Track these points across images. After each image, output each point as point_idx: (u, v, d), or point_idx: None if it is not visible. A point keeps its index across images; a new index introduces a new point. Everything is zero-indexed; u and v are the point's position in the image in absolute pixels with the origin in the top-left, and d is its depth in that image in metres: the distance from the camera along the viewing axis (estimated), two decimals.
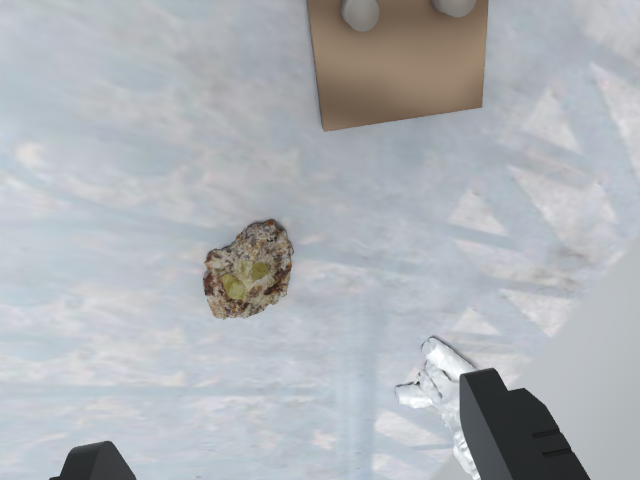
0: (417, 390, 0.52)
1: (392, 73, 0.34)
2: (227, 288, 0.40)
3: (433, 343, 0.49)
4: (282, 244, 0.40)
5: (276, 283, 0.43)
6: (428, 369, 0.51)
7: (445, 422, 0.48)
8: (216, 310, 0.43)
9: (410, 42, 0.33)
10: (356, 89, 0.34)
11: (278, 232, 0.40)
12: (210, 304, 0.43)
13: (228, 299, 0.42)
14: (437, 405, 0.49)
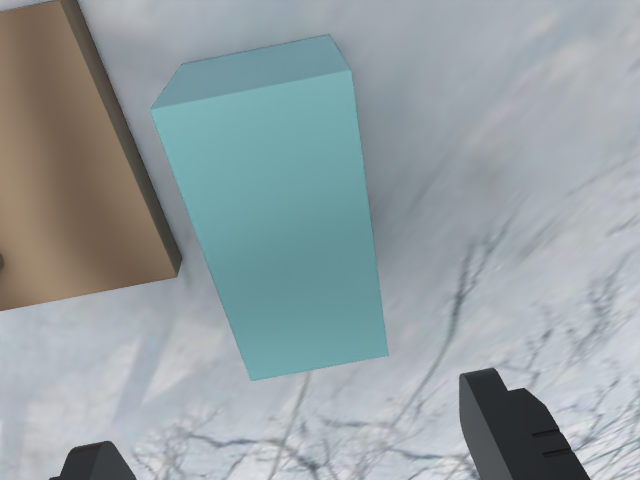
0: None
1: None
2: None
3: None
4: None
5: None
6: None
7: None
8: None
9: None
10: None
11: None
12: None
13: None
14: None
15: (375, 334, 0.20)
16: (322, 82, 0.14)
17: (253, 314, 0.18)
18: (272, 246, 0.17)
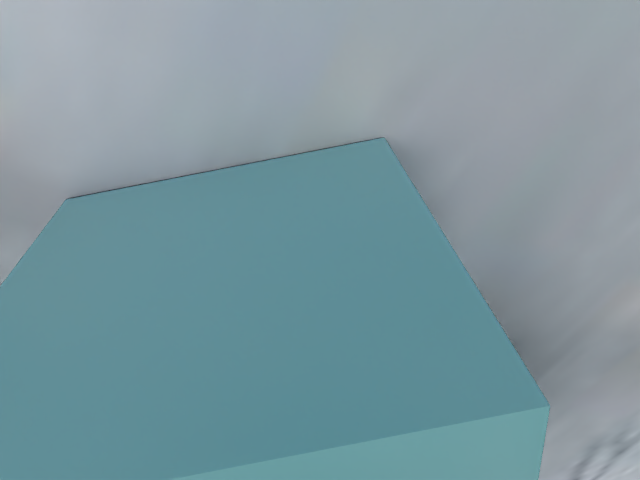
0: None
1: None
2: None
3: None
4: None
5: None
6: None
7: None
8: None
9: None
10: None
11: None
12: None
13: None
14: None
15: None
16: (440, 440, 0.04)
17: None
18: None
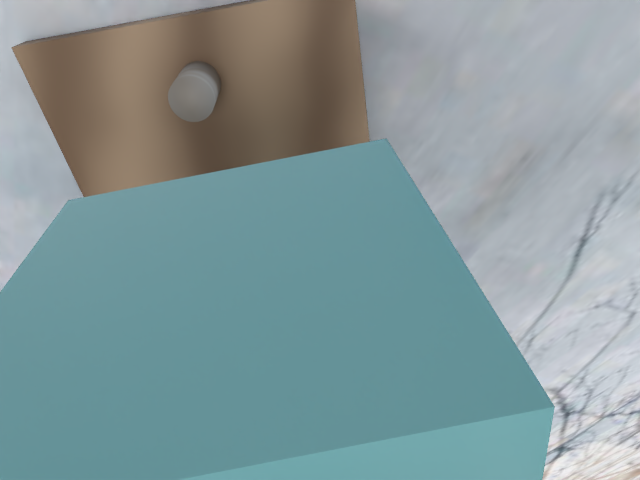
0: None
1: (127, 142, 0.25)
2: None
3: None
4: None
5: None
6: None
7: None
8: None
9: (171, 159, 0.25)
10: (93, 94, 0.23)
11: None
12: None
13: None
14: None
15: None
16: (444, 441, 0.04)
17: None
18: None
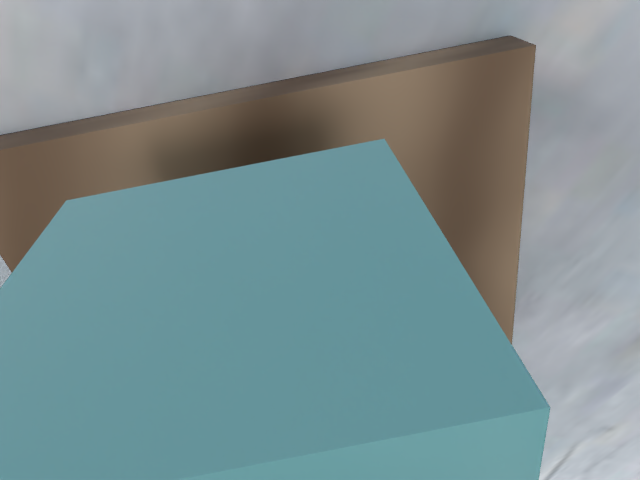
0: None
1: None
2: None
3: None
4: None
5: None
6: None
7: None
8: None
9: None
10: None
11: None
12: None
13: None
14: None
15: None
16: (440, 441, 0.04)
17: None
18: None
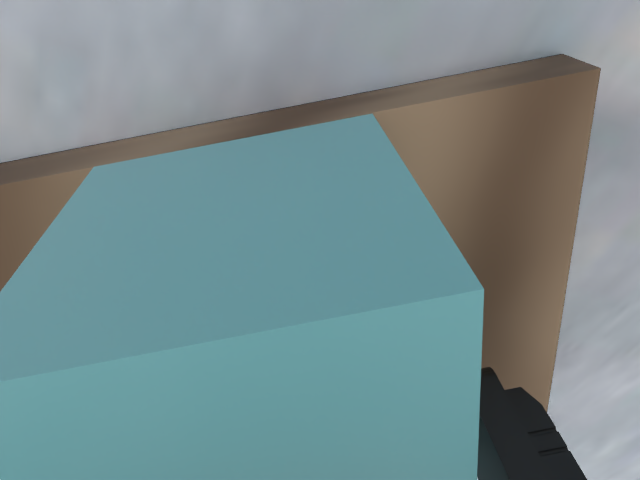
0: None
1: None
2: None
3: None
4: None
5: None
6: None
7: None
8: None
9: None
10: None
11: None
12: None
13: None
14: None
15: None
16: (402, 317, 0.05)
17: None
18: None
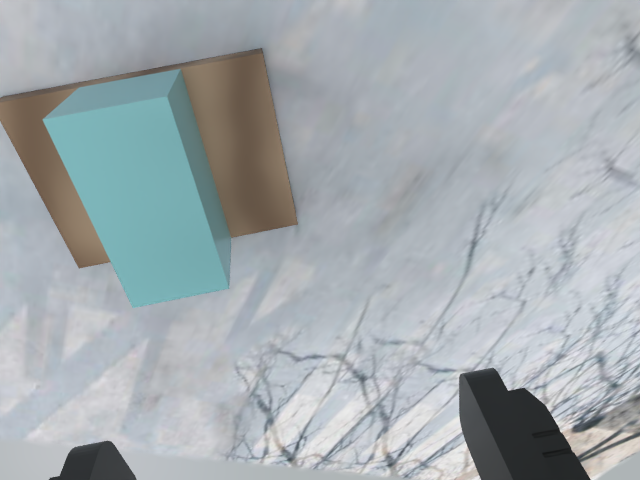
0: None
1: None
2: None
3: None
4: None
5: None
6: None
7: None
8: None
9: None
10: None
11: None
12: None
13: None
14: None
15: (216, 272, 0.29)
16: (150, 103, 0.23)
17: (127, 256, 0.27)
18: (134, 208, 0.26)
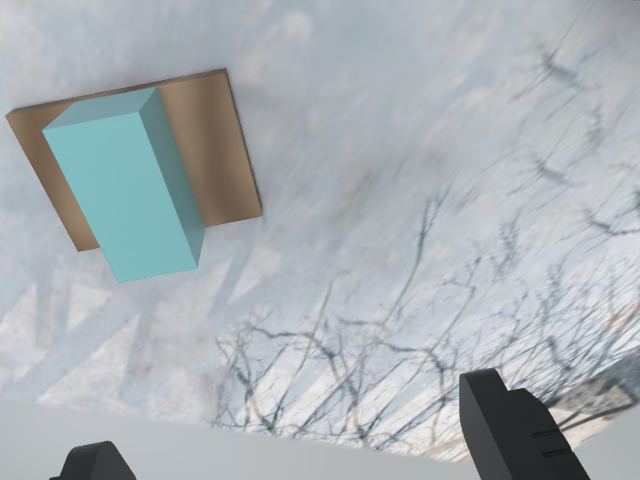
0: None
1: None
2: None
3: None
4: None
5: None
6: None
7: None
8: None
9: None
10: None
11: None
12: None
13: None
14: None
15: (186, 254, 0.35)
16: (125, 117, 0.29)
17: (112, 240, 0.33)
18: (116, 200, 0.32)
